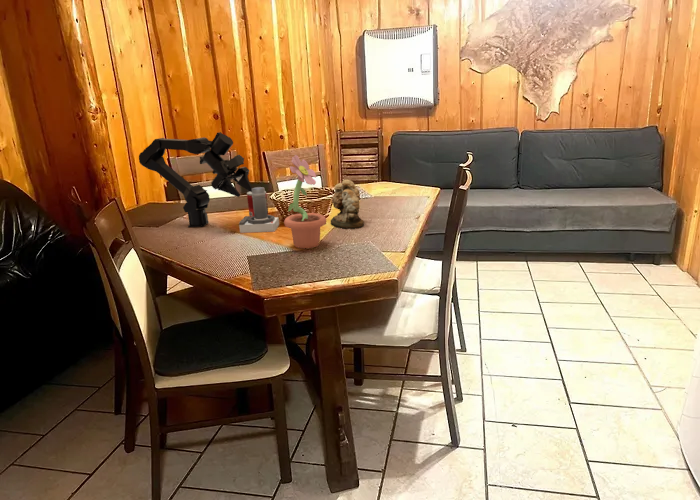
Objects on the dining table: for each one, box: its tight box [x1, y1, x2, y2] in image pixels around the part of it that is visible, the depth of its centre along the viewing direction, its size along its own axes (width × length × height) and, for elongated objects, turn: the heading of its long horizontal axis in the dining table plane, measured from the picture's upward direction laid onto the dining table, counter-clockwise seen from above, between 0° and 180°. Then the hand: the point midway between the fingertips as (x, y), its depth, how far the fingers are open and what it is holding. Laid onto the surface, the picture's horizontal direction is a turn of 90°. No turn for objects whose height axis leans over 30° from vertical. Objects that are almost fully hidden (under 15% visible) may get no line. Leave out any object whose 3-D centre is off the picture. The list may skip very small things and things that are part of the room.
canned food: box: [246, 190, 269, 217], centre depth 206 cm, size 8×8×11 cm
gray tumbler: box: [252, 186, 268, 220], centre depth 188 cm, size 5×5×13 cm
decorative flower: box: [283, 154, 327, 250], centre depth 162 cm, size 15×14×30 cm
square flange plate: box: [238, 214, 280, 234], centre depth 190 cm, size 13×10×4 cm
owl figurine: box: [330, 179, 365, 230], centre depth 190 cm, size 18×12×17 cm, turn 26°
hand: (246, 193), depth 189 cm, fingers open, 9 cm apart
